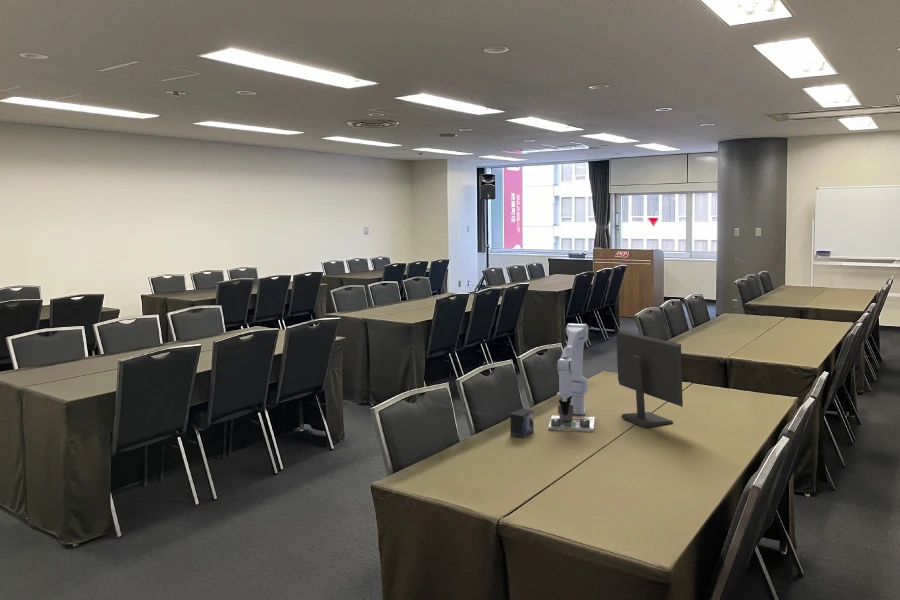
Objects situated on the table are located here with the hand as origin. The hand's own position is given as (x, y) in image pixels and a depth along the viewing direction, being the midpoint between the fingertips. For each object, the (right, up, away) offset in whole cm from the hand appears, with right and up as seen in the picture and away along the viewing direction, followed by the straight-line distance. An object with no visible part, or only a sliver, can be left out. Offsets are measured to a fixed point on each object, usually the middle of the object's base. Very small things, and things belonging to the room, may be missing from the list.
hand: (565, 412), depth 315 cm
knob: (+3, -3, 0) cm, 4 cm away
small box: (-22, -8, -13) cm, 27 cm away
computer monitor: (+38, -4, 0) cm, 38 cm away
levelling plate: (+3, -5, -2) cm, 6 cm away
